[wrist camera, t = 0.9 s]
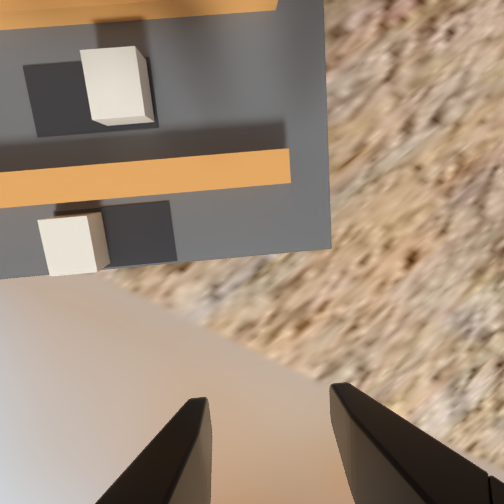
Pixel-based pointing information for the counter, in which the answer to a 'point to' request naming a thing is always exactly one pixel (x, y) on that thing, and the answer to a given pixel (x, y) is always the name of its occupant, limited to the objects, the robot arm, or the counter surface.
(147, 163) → the orange wooden bar
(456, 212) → the counter surface
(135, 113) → the block
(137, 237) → the breaker panel
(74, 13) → the orange bar
